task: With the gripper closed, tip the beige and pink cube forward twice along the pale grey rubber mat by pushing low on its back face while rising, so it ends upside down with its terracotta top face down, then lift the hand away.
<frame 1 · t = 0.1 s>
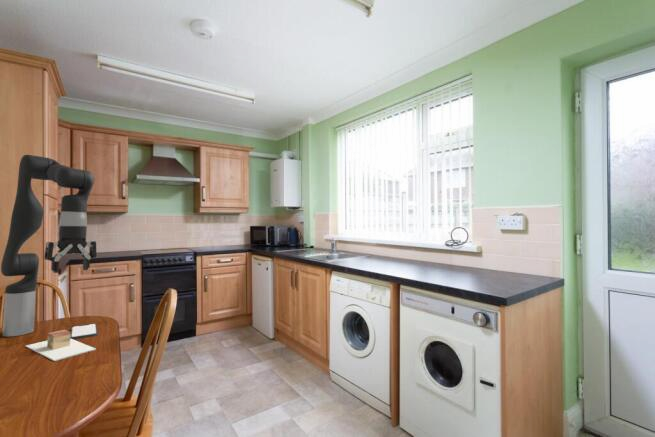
hand: (71, 271, 109), 29 cm above the table, tool pointing down, fingers open, 8 cm apart
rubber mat: (60, 348, 114), on the table
phone case: (83, 333, 132), on the table
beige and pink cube: (58, 346, 115), resting on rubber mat
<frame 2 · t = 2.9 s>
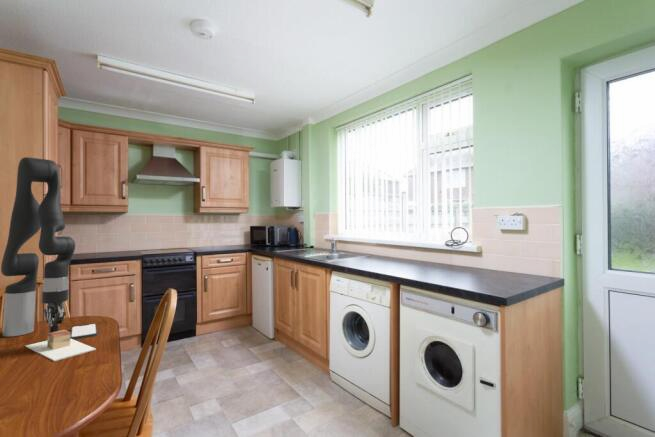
hand: (53, 335, 117), 4 cm above the table, tool pointing down, fingers closed
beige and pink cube: (58, 346, 115), resting on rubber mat, touching gripper
everything else where it was.
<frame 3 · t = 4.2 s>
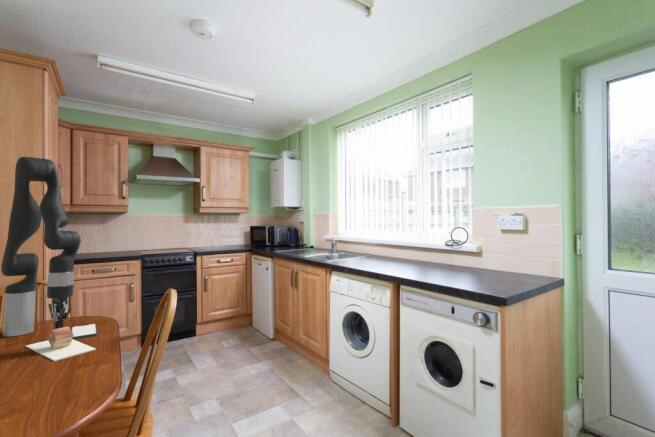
hand: (58, 330, 116), 6 cm above the table, tool pointing down, fingers closed
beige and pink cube: (59, 343, 115), point 2 cm above the table, tilted 29°, touching gripper, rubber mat
everything else where it was.
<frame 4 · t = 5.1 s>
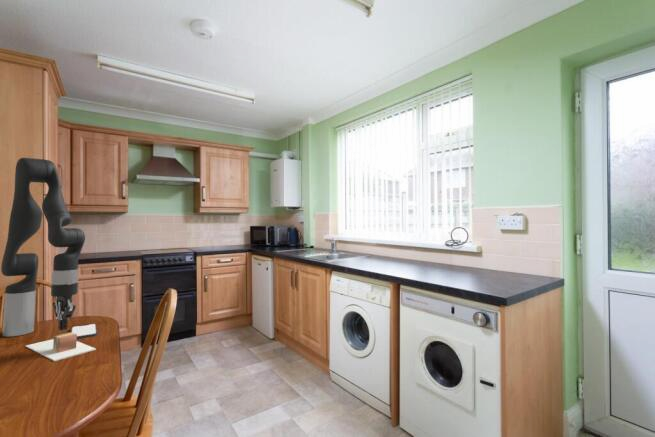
hand: (62, 329, 114), 7 cm above the table, tool pointing down, fingers closed
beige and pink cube: (62, 340, 114), point 3 cm above the table, tilted 90°, touching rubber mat
everything else where it was.
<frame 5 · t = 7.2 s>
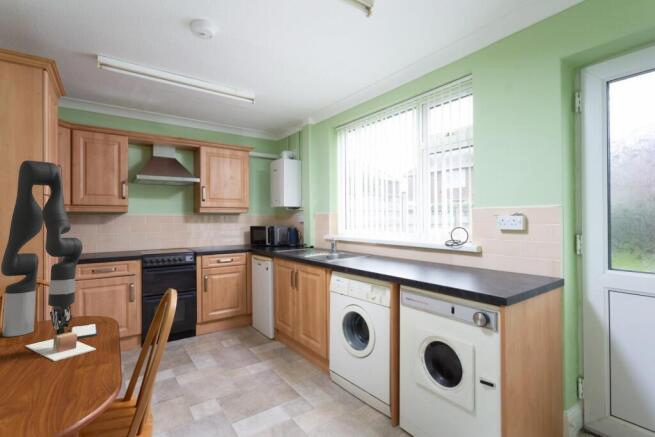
hand: (59, 338, 115), 3 cm above the table, tool pointing down, fingers closed
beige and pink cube: (62, 340, 114), point 3 cm above the table, tilted 91°, touching gripper, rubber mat
everything else where it was.
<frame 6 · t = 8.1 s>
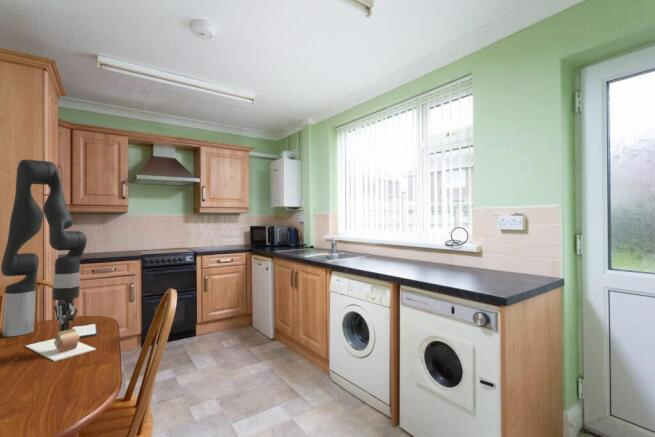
hand: (64, 333, 113), 6 cm above the table, tool pointing down, fingers closed
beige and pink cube: (64, 335, 113), point 5 cm above the table, tilted 118°, touching gripper, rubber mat
everything else where it was.
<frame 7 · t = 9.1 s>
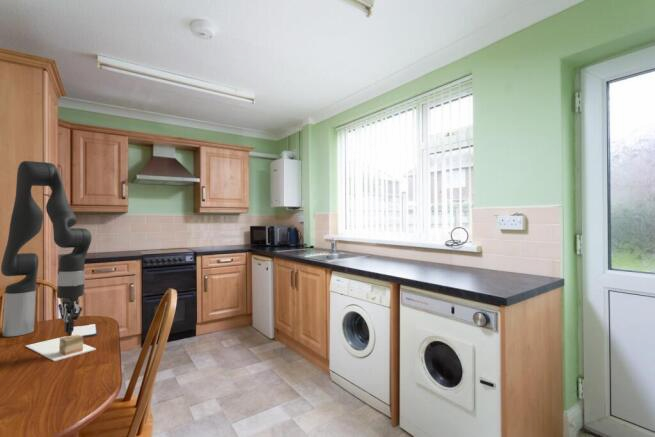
hand: (68, 331, 111), 7 cm above the table, tool pointing down, fingers closed
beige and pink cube: (71, 337, 110), point 5 cm above the table, tilted 180°, touching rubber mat
everything else where it was.
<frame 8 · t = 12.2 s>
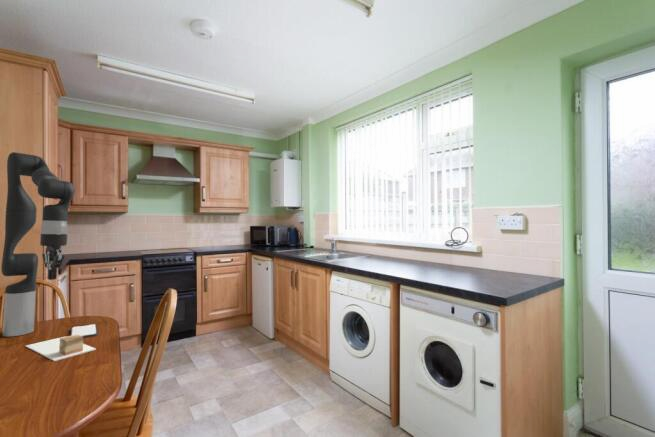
hand: (51, 279, 116), 25 cm above the table, tool pointing down, fingers closed
nothing on the table moved.
at the end: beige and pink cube tilted 180°; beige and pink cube inside the target area (0.0 cm from its centre), point 5.4 cm above the table; the gripper is holding nothing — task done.
